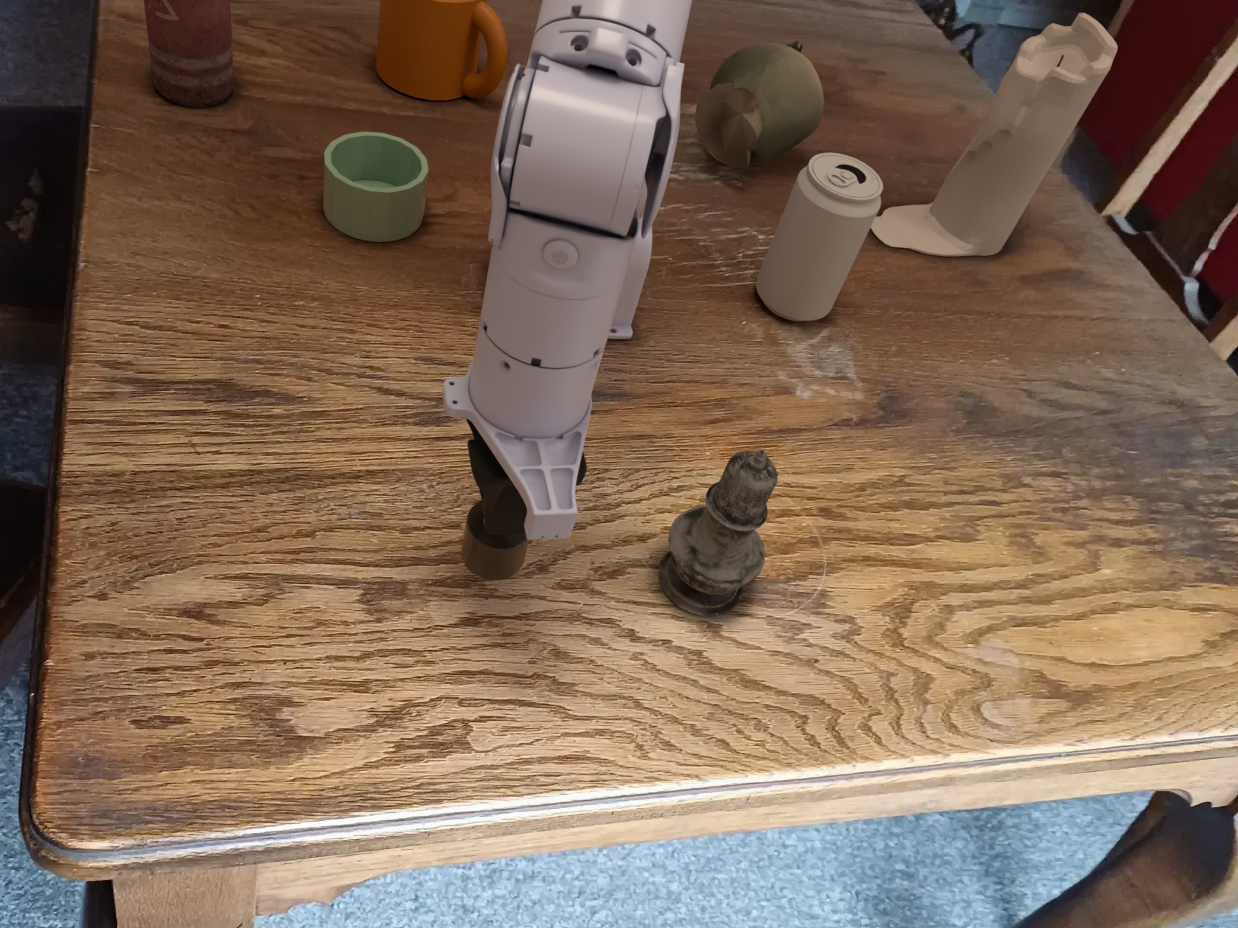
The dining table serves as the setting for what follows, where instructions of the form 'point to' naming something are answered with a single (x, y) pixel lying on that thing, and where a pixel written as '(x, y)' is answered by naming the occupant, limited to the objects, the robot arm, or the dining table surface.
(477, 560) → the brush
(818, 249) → the beverage can
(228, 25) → the can
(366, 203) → the pot
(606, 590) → the dining table surface
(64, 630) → the dining table surface
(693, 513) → the chess piece
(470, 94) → the mug
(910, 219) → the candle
